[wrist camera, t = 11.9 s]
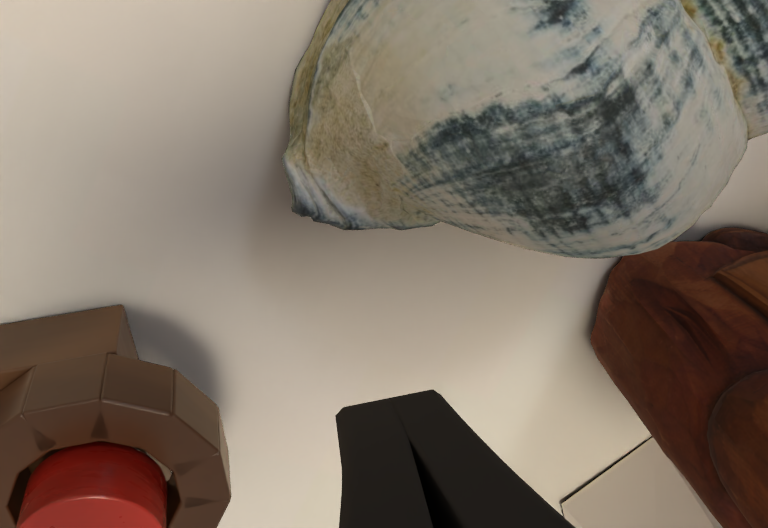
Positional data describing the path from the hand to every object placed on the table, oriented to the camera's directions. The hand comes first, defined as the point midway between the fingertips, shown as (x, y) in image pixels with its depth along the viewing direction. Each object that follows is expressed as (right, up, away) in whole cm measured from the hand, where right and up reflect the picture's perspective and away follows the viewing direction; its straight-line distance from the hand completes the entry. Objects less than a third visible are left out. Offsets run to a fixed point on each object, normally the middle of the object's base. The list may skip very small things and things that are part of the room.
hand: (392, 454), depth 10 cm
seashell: (+3, +8, +9) cm, 12 cm away
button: (-7, -3, +8) cm, 11 cm away
